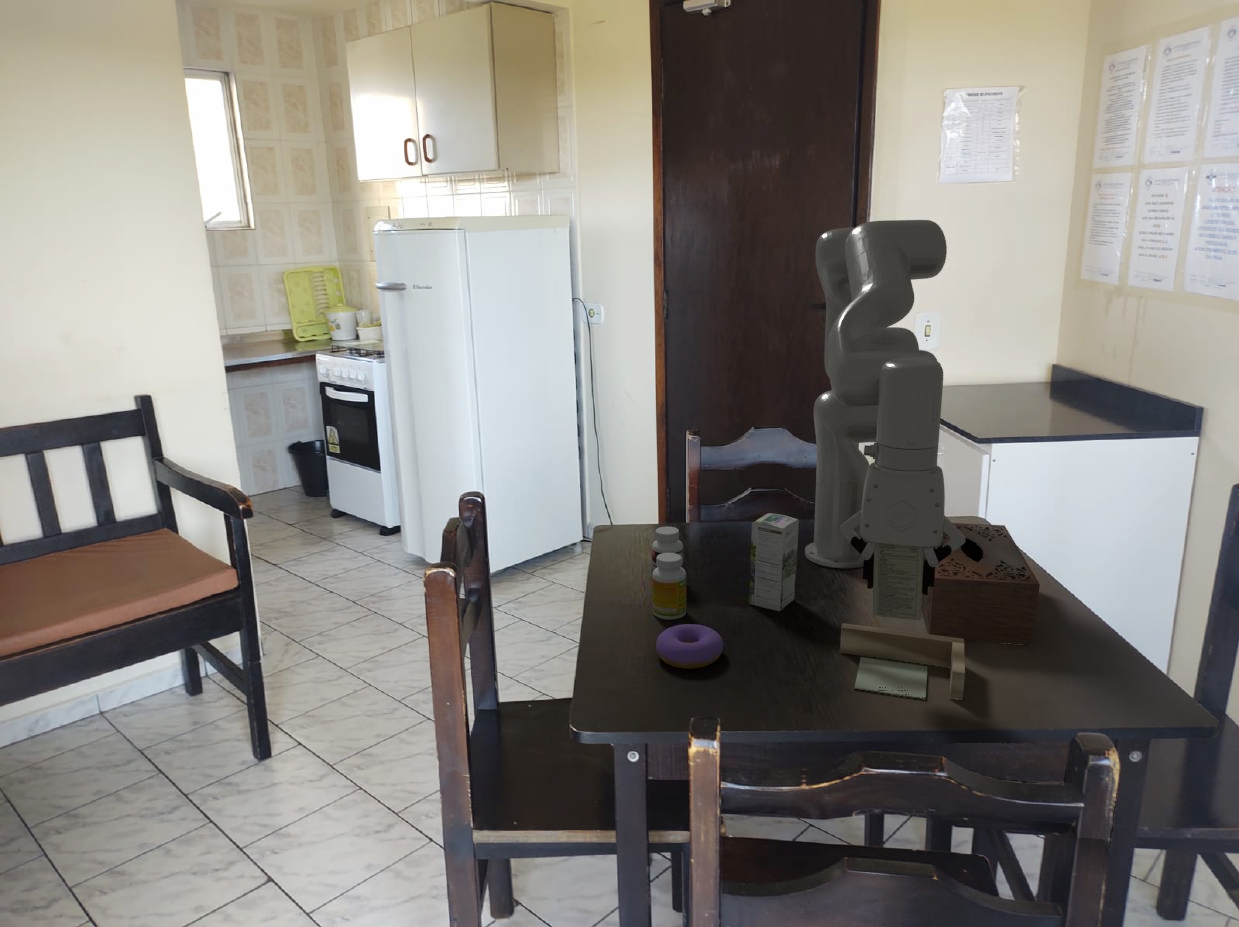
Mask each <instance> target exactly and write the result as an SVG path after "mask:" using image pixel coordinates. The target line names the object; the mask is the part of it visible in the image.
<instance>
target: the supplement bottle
mask: <svg viewBox="0 0 1239 927" xmlns="http://www.w3.org/2000/svg"><path fill="white" fill-rule="evenodd" d="M656 564H657V568H656V569H654V571H653V576H652V575H651V576H652V577H651V578H652V613H653V615H654V616H656V618H659V619H662V620H670V621H671V620H677V619H678V620H679V619H681V618H682V617H684V616H685V615H686V613H687V572H686V570H685V568H684V567H683V568H682V567H681V566H682V557H681V556H680V555H679V554H676V553H662V554H659V555H658V556H657V561H656Z"/></svg>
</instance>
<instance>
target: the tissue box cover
mask: <svg viewBox="0 0 1239 927" xmlns="http://www.w3.org/2000/svg"><path fill="white" fill-rule="evenodd" d="M952 523H953V524H954V525H955V527H956V528H957V529H958V530H959V531H960V532H961V533H962V534H963V535H964V536H965V543H964V544H963V545H961V546H960V547H959V548H957V549H956V550H954V551H953V552H952V553H951V554H950V555H949V556H947V557H946V558H945V559H943V560H942V561H941V562H939V563H938V565H937V566H935V579H934V587H928V595H922V613H921V614H922V616H923V620H924V624H925V629H926V632H927V633H926V634H930V635H938V636H946V637H954V638H961V639H964V642H973V643H974V642H975V643H985V642H987V643H986V644H998V643H1007V644H1006V645H1009V644H1008V643H1011V644H1010V645H1012V644H1023V645H1022V646H1025V645H1033V646H1034V639H1035V631H1036V621H1037V613H1038V606H1039V605H1038V603H1039V596H1040V595H1039V593H1040V586H1041V584H1040V582H1039V581H1038V579H1037V577H1036V575H1035V574H1034V572H1033V571H1032V568H1031V567H1030V566H1029V564H1028V562H1027V561H1026V560H1027V559H1025V557H1024V555H1023V554H1022V552H1021V550H1020V548H1019V547H1018V545H1017V544H1016V542H1015V540H1014V539H1013V537H1012V536H1011V533H1010V531H1009V530H1008V529H1007V527H1006V525H1005V524H1004V525H1002V524H985V523H983V524H981V523H965V522H964V523H962V522H960V523H959V522H952ZM948 540H950V537H949V536H948V535H947V534H946V533H945V532H944V531H943V538H942V542H941V544H940V545H939V546H938V547H940V546H941V545H942V544H944V543H946V542H947V541H948ZM938 547H936V549H937V548H938ZM924 560H926V556H925V553H924Z"/></svg>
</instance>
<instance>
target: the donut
mask: <svg viewBox="0 0 1239 927" xmlns="http://www.w3.org/2000/svg"><path fill="white" fill-rule="evenodd" d="M723 649H724V641H723V639H722V636H721V635H720V634H719V633H718V632H717V631H715V630H714V629H713V628H711V627H708V626H705V625H702V624H695V623H693V624H692V623H686V624H677V625H673V626H671V627H668V628H666V629H665V630H663V631H662V632H661V633H660V634H659V635H658V636H657V638H656V642H655V651H656V654H657V655H658V657H659V659H661V660H662V661H663V662H664V663H665V664H667V665H669V666H672V667H674V668H679V669H687V670H689V669H690V670H691V669H701V668H705V667H708V666H709V665H711V664H713V663H715V662H717V660H718V659H719V658H720V656H721V655H722V652H723Z"/></svg>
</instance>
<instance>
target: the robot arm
mask: <svg viewBox="0 0 1239 927" xmlns="http://www.w3.org/2000/svg"><path fill="white" fill-rule="evenodd" d="M947 246H948V245H947V240H946V236H945V234H944V231H943V230H942V228H941V227H940V225H939V224H938V223H937V222H935V221H933V220H930V219H901V220H900V219H897V220H896V219H895V220H894V219H893V220H872V221H868V222H864V223H861V224H859V225H857V226H856V227H852V226H851V227H842V228H834V229H830V230H827V231H825V232H824V233H822V234H821V235H820V236H819V237H818V238H817V242H816V245H815V265H816V271H817V274H818V278H819V281H820V282H819V283H820V284H821V287H822V290H823V294H824V298H825V306H826V307H825V308H826V309H825V311H826V312H825V327H824V328H825V329H824V369H825V373H826V375H827V376H828V378H829V381H830V382H829V383H830V387H831V390H827V391H825V392H823V393H821V394H820V395H818V397H817V398H815V399H816V400H815V401H814V405H813V423H814V431H815V442H816V443H815V444H816V474H815V475H816V476H815V479H816V481H815V504H814V506H815V507H814V508H815V509H814V530H813V531H814V532H813V542H809V544H807V545H806V546H805V549H804V556H805V557H806V559H807V560H808V561H810V562H812V563H813V564H817V565H819V566H823V567H827V568H832V569H833V568H834V569H857V568H863V569H862V580H866V581H867V584H866V589H870V590H871V589H873V572H874V543H875V544H883V545H893V546H903V547H914V548H924V553H925V556H926V560H924V571H923V585H922V594H923V595H928V587H934V579H935V566H937V565H938V563H939V562H941V561H942V560H943V559H945V558H946V557H947V556H949V555H950V554H951V553H952V552H953V551H954V550H956V549H957V548H959V547H960V546H961V545H963V544H964V543H965V536H964V535H963V534H962V533H961V532H960V531H959V530H958V529H957V528H956V527H955V525H954V524H953V523H954V522H952V521H951V520H950V519H949V518H948V517H947V516H946V515H945V505H946V503H945V502H946V499H945V498H946V496H945V491H946V490H945V479H944V473H943V469H942V467H940V466H938V452H939V442H940V429H941V416H942V415H941V414H942V404H943V402H942V400H943V391H944V390H943V388H944V369H943V367H942V364H941V363H940V362H939V360H938V359H937V357H936V356H935V355H934V353H932V352H930V351H928V350H922V349H920V347H919V346H920V345H919V342H918V338H917V336H916V335H915V333H914V332H913V331H911V330H910V329H908V328H905V327H897V326H894V327H893V325H896V324H897V323H899V322H900V321H902V320H903V319H904V318H906V316H907V315H908V314H909V313H910V312H911V310H912V309H913V306H914V304H915V291H914V288H913V283H912V281H913V280H924V279H926V280H927V279H931V278H934V277H936V276H938V275H939V274H940V272H941V271H942V270H943V268H944V265H945V264H946V261H947V253H948V252H947V250H948V249H947V248H948V247H947ZM891 326H892V327H891ZM863 443H864V446H863V447H864V448H863V452H862V451H861V450H860V449H859V448H858V446H857V445H858V444H863ZM866 443H873V444H870V445H866ZM866 456H868V457H870V458H872V460H874V462H871V463H869V460H868V458H867V457H866ZM943 531H944V532H945V533H946V534H947V535H948V536H949V537H950V540H948V541H947V542H946V543H944V544H942V545H941V546H940V547H938V546H939V545H940V544H941V542H942V538H943ZM936 547H938V548H937V549H936Z"/></svg>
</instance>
